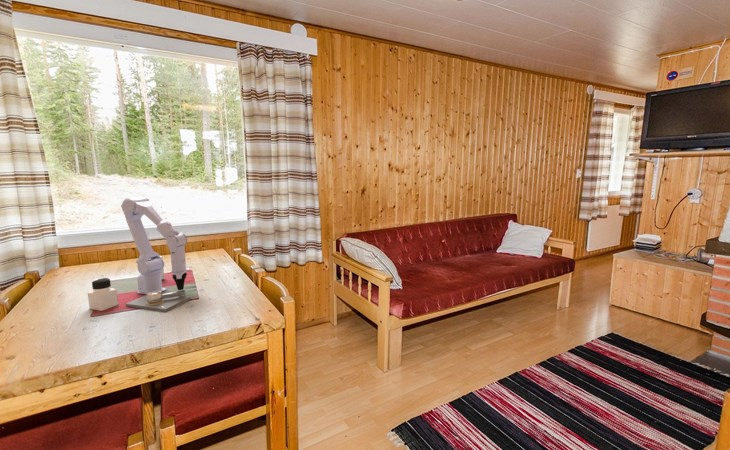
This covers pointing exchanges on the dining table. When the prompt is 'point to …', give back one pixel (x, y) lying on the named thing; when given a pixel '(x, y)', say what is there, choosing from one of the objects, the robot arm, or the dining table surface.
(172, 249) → the robot arm
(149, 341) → the dining table surface
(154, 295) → the tan piece
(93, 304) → the medicine bottle
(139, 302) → the board
